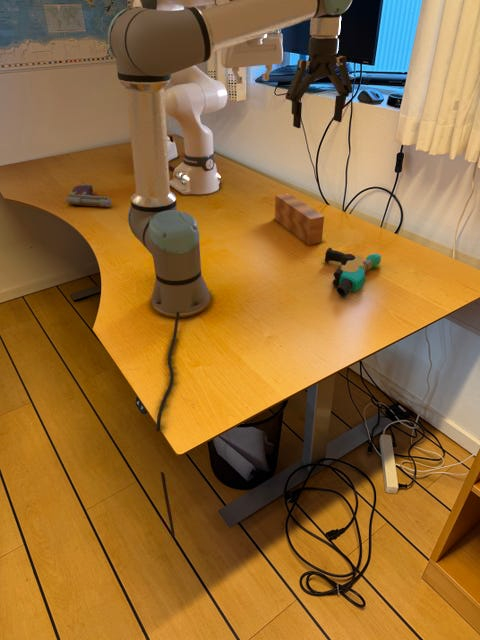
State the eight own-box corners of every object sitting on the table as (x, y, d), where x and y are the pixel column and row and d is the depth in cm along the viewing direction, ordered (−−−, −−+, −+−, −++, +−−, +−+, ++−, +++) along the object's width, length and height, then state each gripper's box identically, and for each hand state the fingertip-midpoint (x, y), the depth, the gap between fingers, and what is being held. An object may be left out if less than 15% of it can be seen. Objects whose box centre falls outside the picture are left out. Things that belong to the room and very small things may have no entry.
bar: (321, 242, 153) (324, 216, 148) (308, 245, 151) (310, 219, 146) (286, 216, 169) (288, 192, 164) (274, 219, 167) (275, 195, 162)
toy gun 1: (124, 195, 187) (108, 210, 175) (80, 192, 190) (61, 206, 178) (122, 185, 185) (106, 200, 173) (78, 182, 188) (59, 197, 176)
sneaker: (133, 173, 208) (129, 144, 201) (161, 153, 230) (158, 127, 223) (155, 175, 205) (151, 146, 198) (180, 155, 227) (178, 129, 220)
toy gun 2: (303, 277, 126) (358, 291, 120) (334, 239, 144) (384, 250, 139) (302, 292, 128) (356, 306, 123) (333, 252, 147) (381, 263, 141)
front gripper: (354, 32, 128) (345, 115, 141) (274, 38, 120) (272, 126, 132) (372, 35, 123) (361, 121, 135) (289, 41, 114) (285, 132, 127)
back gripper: (277, 28, 148) (276, 77, 156) (217, 32, 141) (219, 83, 149) (287, 30, 144) (285, 80, 152) (226, 33, 137) (227, 86, 145)
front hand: (317, 124), depth 134 cm, fingers open, 13 cm apart
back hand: (252, 82), depth 151 cm, fingers open, 8 cm apart
